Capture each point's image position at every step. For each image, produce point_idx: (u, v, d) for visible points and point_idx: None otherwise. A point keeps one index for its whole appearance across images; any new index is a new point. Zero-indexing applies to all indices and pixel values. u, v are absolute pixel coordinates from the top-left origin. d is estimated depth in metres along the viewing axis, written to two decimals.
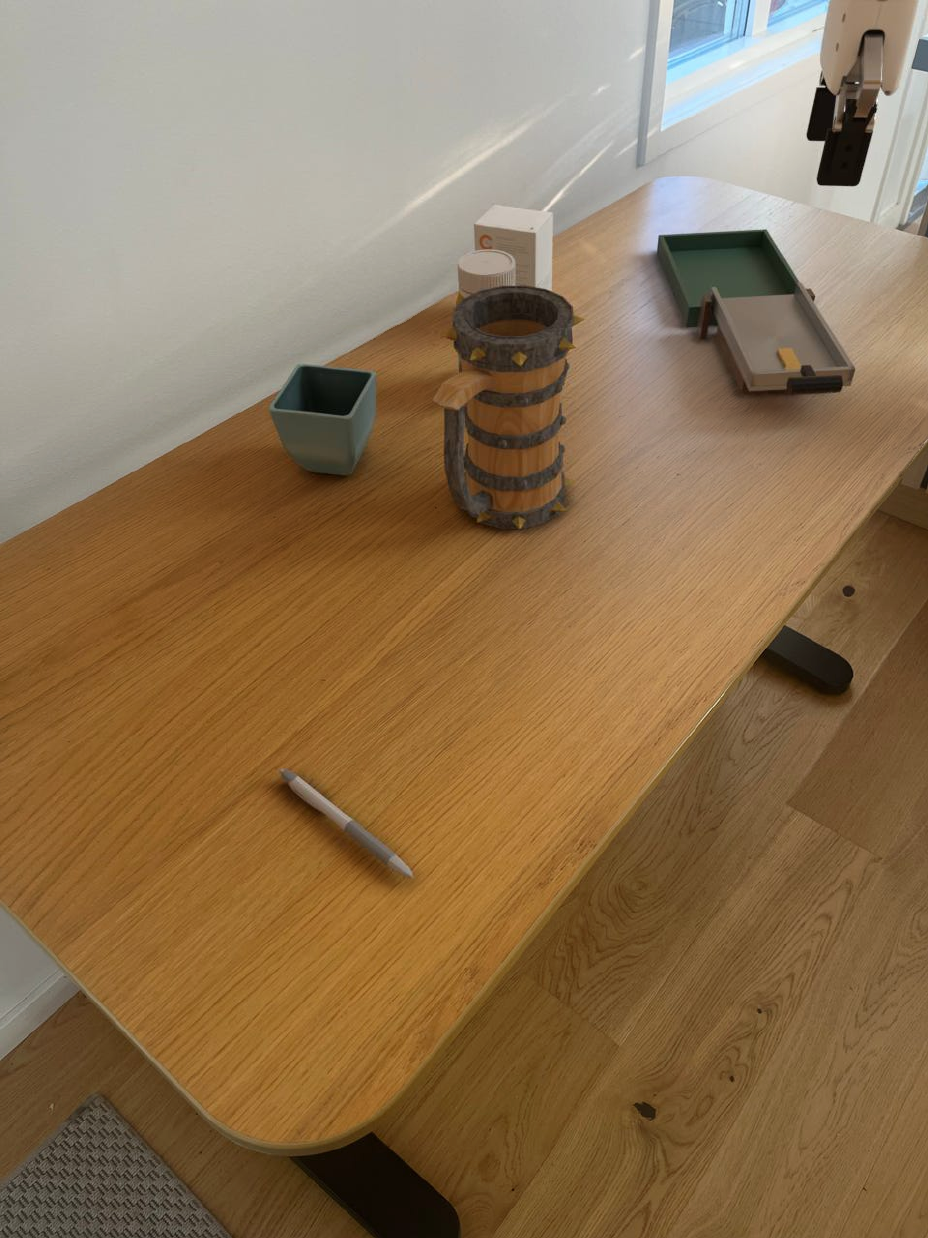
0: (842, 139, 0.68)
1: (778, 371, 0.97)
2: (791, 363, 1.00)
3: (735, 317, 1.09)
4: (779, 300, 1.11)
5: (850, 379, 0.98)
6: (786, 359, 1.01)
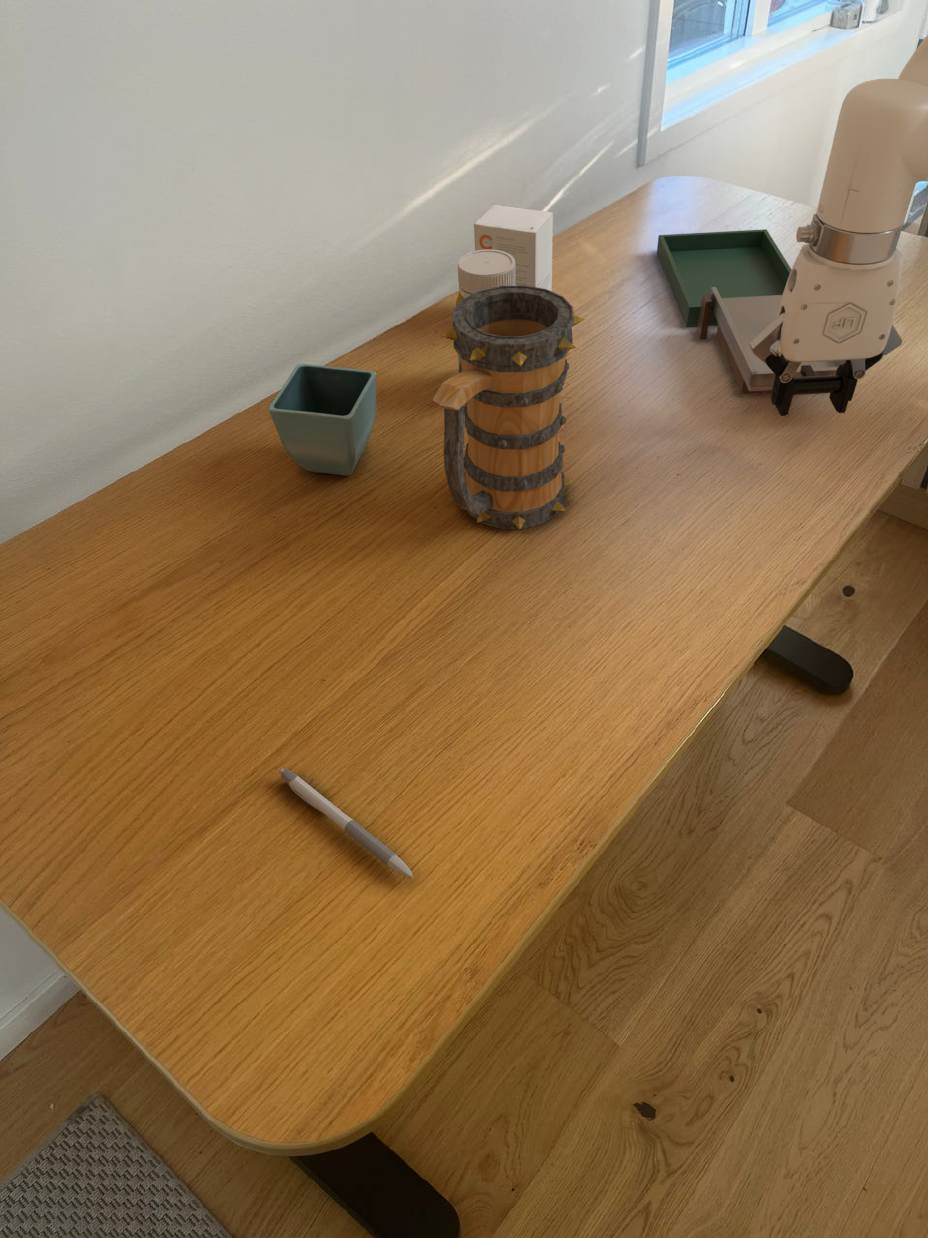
0: (776, 376, 0.94)
1: None
2: None
3: (735, 317, 1.09)
4: (779, 300, 1.11)
5: None
6: None
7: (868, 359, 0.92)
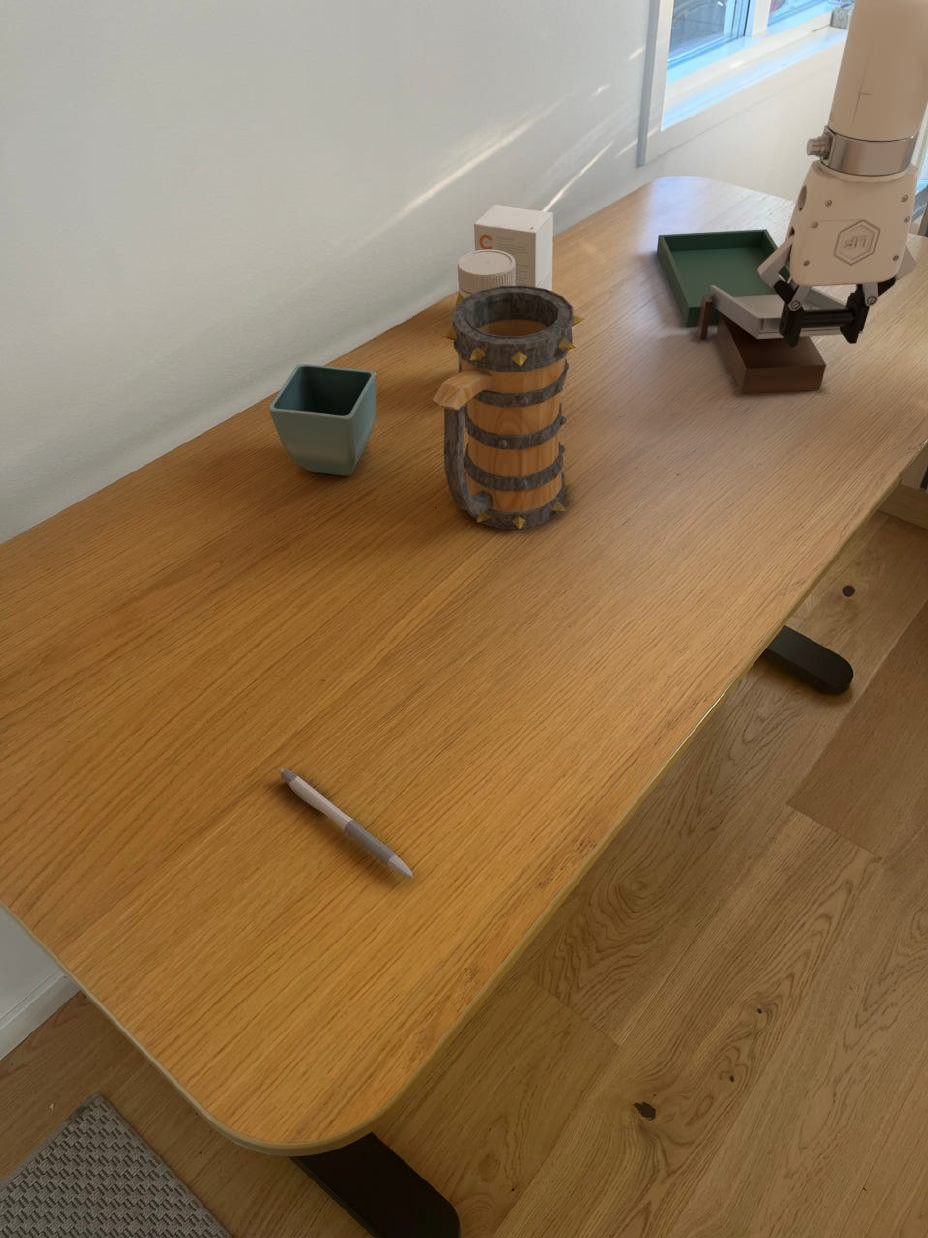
0: (784, 305, 0.91)
1: None
2: None
3: None
4: None
5: None
6: None
7: (881, 284, 0.88)
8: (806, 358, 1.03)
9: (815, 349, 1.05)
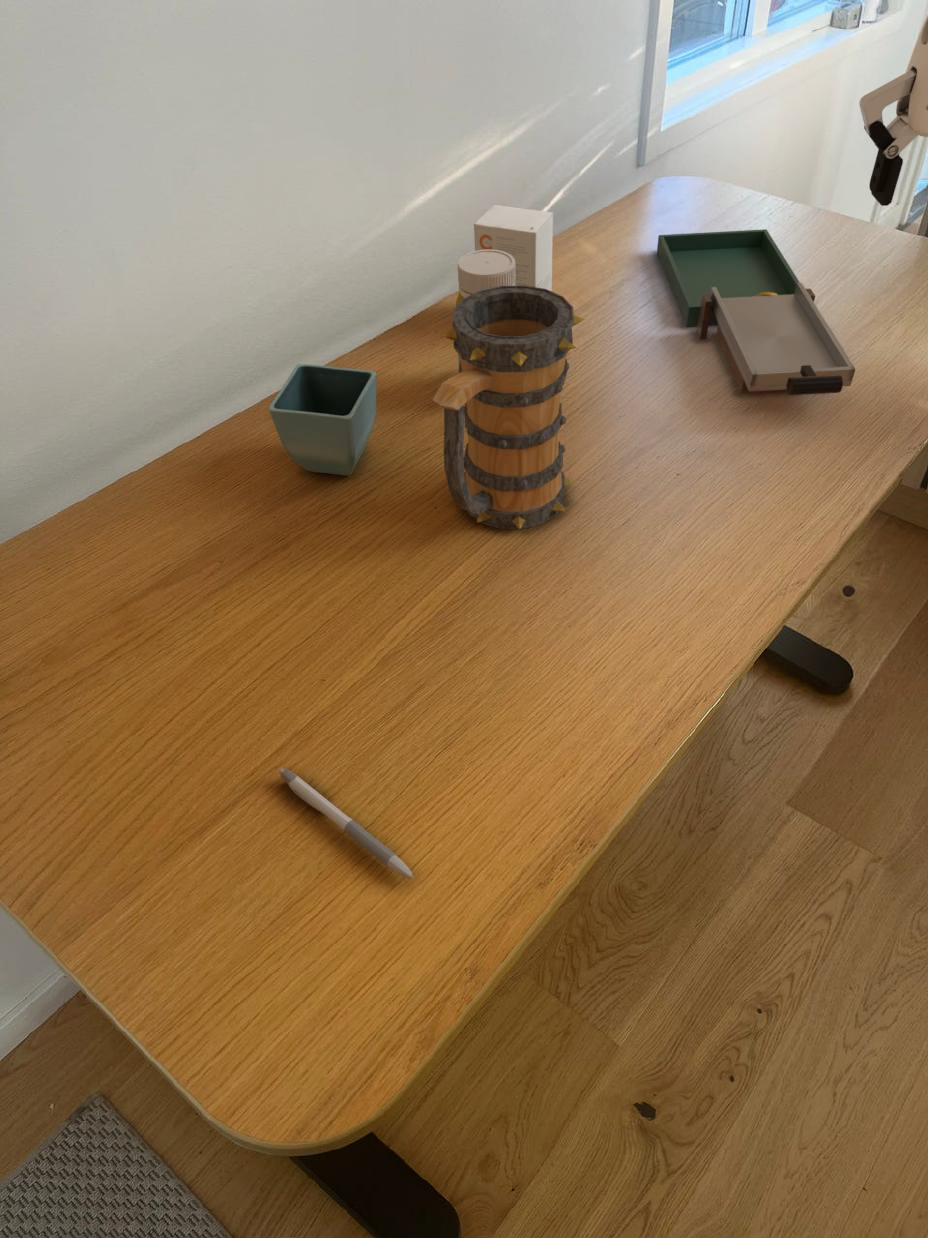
0: (878, 155, 0.80)
1: (778, 371, 0.97)
2: None
3: (735, 317, 1.09)
4: (779, 300, 1.11)
5: (850, 379, 0.98)
6: None
7: None
8: None
9: None
